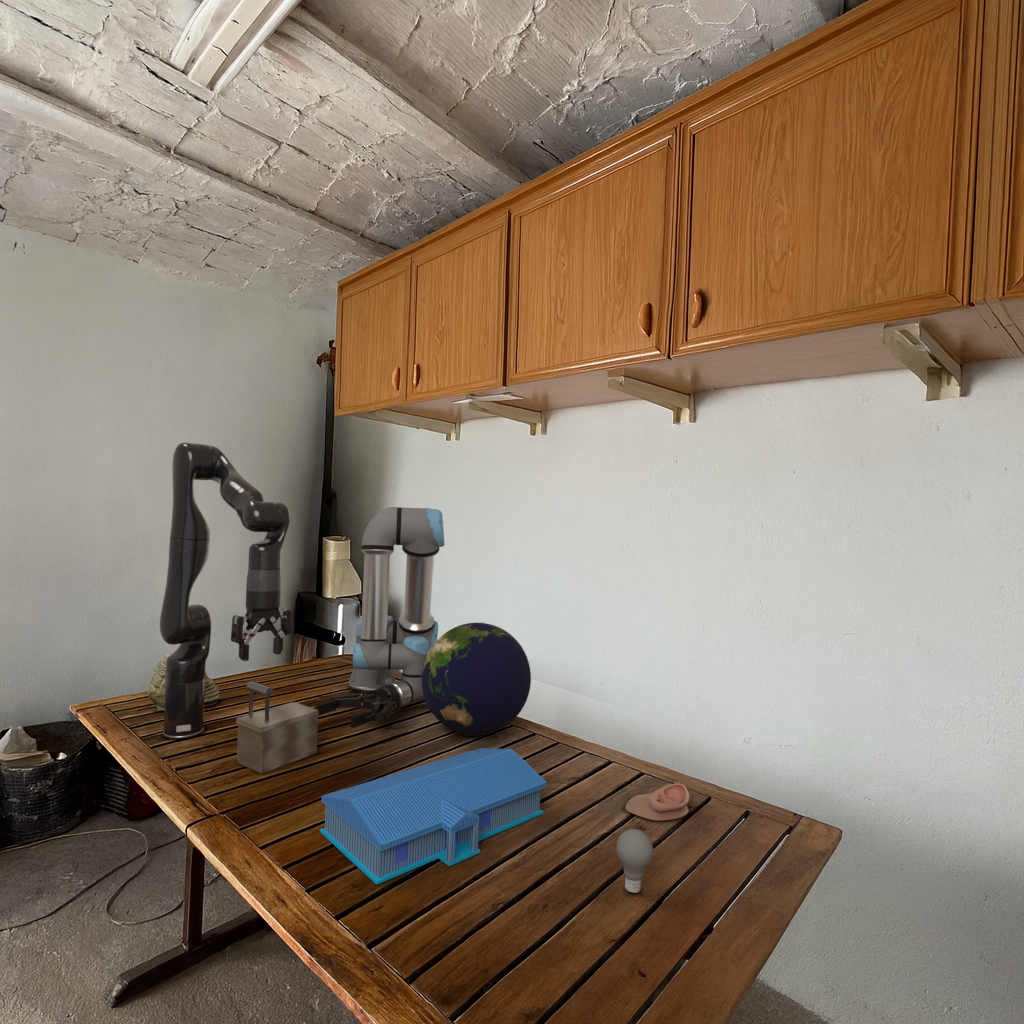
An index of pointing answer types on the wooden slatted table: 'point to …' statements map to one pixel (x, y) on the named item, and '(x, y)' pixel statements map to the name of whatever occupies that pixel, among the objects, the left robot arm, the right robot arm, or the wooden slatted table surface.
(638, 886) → the light bulb
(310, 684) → the wooden slatted table surface
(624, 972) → the wooden slatted table surface
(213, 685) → the fossil
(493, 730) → the globe
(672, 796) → the anatomical model
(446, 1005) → the wooden slatted table surface
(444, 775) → the model building
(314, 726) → the chest
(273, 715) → the grey piece
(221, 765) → the wooden slatted table surface
